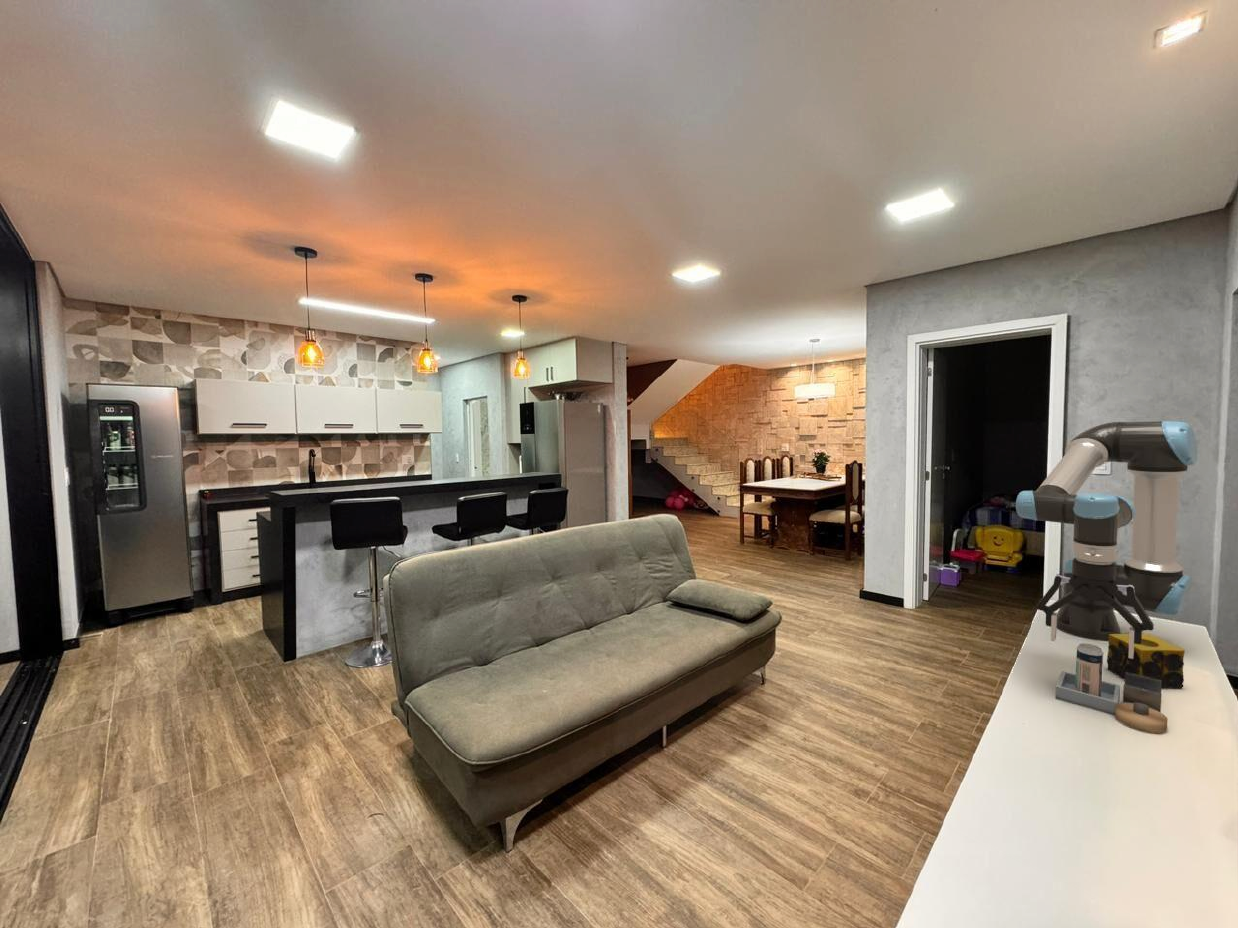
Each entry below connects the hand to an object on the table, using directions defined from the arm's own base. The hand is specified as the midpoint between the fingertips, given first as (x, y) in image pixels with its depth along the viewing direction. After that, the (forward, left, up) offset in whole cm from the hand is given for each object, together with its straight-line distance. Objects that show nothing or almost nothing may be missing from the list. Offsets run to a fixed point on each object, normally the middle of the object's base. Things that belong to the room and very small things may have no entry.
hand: (1090, 647), depth 123 cm
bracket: (-4, +9, -12) cm, 16 cm away
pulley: (+6, +9, -12) cm, 16 cm away
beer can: (+1, 0, -12) cm, 12 cm away
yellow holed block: (-20, +9, -13) cm, 26 cm away
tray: (+1, 0, -12) cm, 12 cm away
